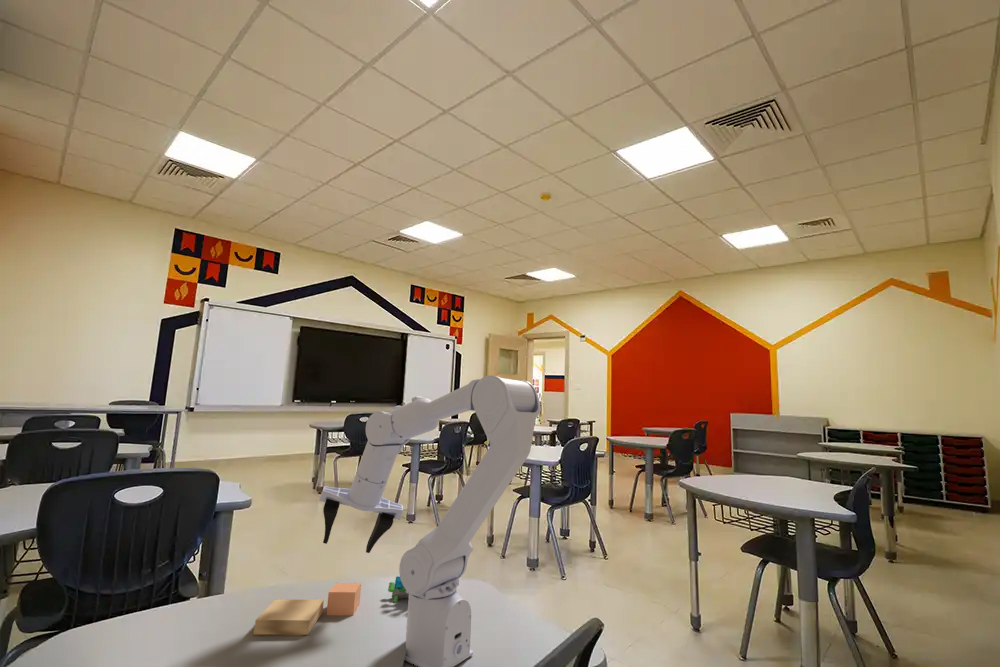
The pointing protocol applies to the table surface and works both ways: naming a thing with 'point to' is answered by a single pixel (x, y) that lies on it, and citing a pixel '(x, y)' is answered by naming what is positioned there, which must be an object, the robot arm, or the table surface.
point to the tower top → (289, 617)
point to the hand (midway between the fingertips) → (347, 545)
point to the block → (343, 599)
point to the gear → (397, 589)
